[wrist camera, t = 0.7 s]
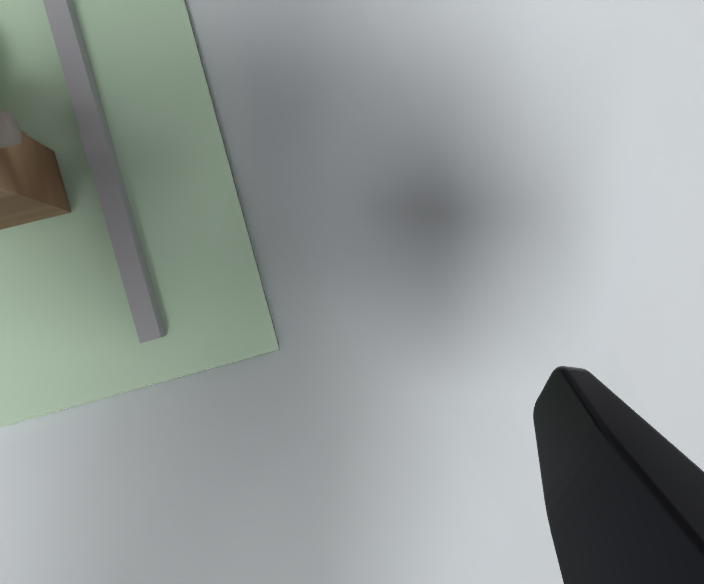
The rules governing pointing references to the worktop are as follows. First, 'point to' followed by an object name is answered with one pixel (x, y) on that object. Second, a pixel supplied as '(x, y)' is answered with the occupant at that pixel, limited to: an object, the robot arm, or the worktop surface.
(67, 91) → the pitch
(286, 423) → the worktop surface
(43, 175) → the figure
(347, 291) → the worktop surface
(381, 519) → the worktop surface
